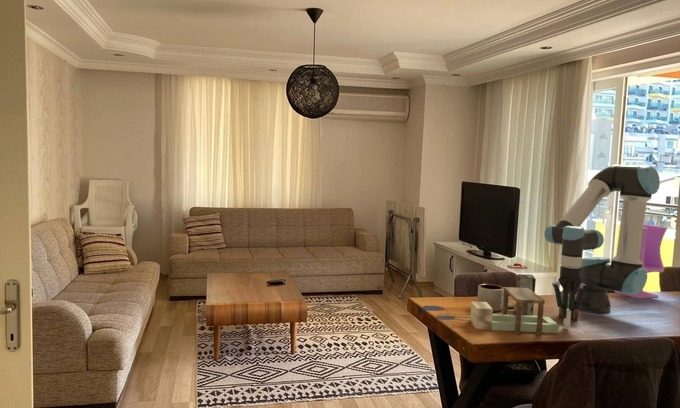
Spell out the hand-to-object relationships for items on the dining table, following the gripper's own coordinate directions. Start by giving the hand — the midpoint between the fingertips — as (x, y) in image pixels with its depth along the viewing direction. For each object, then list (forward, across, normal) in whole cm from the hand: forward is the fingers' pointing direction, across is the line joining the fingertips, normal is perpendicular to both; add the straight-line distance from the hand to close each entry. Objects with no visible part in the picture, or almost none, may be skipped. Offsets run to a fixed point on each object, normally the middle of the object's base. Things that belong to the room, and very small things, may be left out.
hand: (566, 325), depth 210 cm
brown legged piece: (+1, +18, 0) cm, 18 cm away
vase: (+2, -58, -62) cm, 85 cm away
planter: (+1, +24, -24) cm, 34 cm away
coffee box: (+1, +11, -19) cm, 22 cm away
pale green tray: (+1, +18, 0) cm, 18 cm away
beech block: (+1, +33, +1) cm, 33 cm away
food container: (+2, -5, -16) cm, 17 cm away
